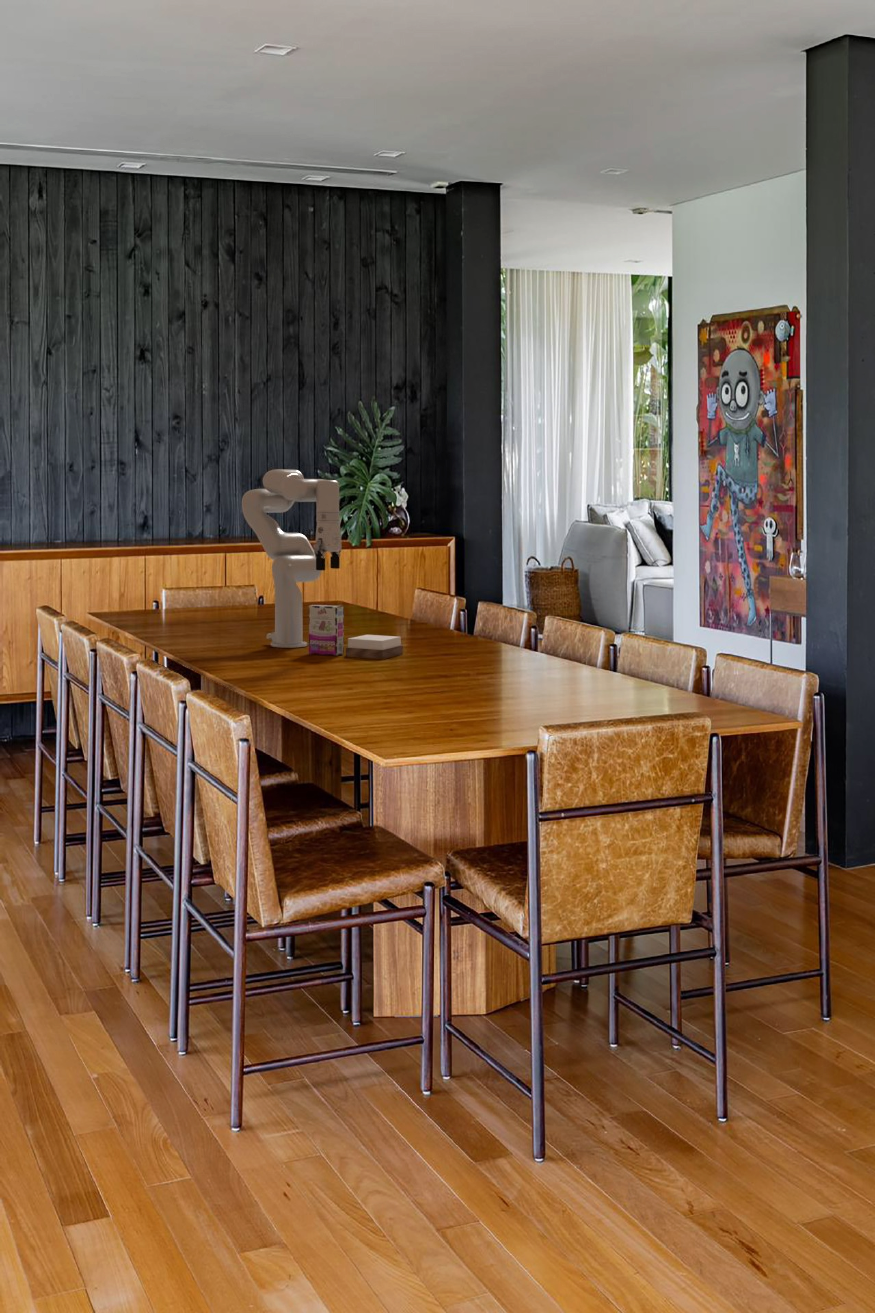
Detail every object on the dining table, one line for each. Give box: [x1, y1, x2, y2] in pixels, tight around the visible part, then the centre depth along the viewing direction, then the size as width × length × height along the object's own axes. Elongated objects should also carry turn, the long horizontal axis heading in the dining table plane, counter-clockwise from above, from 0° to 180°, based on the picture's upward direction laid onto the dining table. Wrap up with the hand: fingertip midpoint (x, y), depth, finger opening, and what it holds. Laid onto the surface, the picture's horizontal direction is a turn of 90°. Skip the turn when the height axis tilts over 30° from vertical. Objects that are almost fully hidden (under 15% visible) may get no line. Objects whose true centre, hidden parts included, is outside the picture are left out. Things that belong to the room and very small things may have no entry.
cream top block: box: [347, 634, 402, 650], centre depth 472 cm, size 13×13×3 cm
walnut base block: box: [345, 645, 404, 660], centre depth 472 cm, size 14×14×4 cm
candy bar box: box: [308, 604, 345, 657], centre depth 473 cm, size 11×5×16 cm, turn 62°
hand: (327, 569), depth 470 cm, fingers open, 9 cm apart
